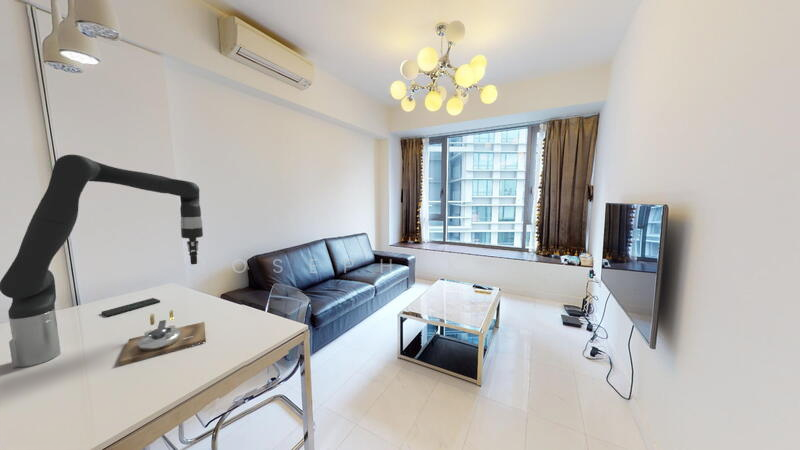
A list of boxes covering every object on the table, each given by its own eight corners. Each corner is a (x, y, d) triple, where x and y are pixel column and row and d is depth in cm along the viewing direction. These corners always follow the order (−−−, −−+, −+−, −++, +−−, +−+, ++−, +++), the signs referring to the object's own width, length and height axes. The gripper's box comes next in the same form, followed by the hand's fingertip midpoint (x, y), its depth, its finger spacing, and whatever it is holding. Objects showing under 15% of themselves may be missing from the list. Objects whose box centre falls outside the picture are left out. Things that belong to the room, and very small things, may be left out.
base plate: (119, 365, 89) (118, 361, 88) (129, 342, 103) (129, 338, 102) (205, 342, 104) (205, 338, 103) (204, 324, 118) (204, 321, 117)
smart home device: (160, 300, 141) (108, 315, 123) (160, 303, 141) (108, 318, 123) (153, 297, 144) (100, 311, 126) (153, 300, 144) (101, 314, 126)
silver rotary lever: (135, 355, 92) (133, 336, 91) (144, 332, 107) (142, 316, 106) (179, 343, 99) (178, 326, 98) (181, 324, 114) (180, 308, 114)
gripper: (181, 225, 118) (183, 260, 119) (180, 229, 107) (182, 266, 108) (202, 224, 122) (204, 258, 124) (202, 228, 111) (204, 264, 113)
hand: (194, 262), depth 116 cm, fingers open, 8 cm apart
